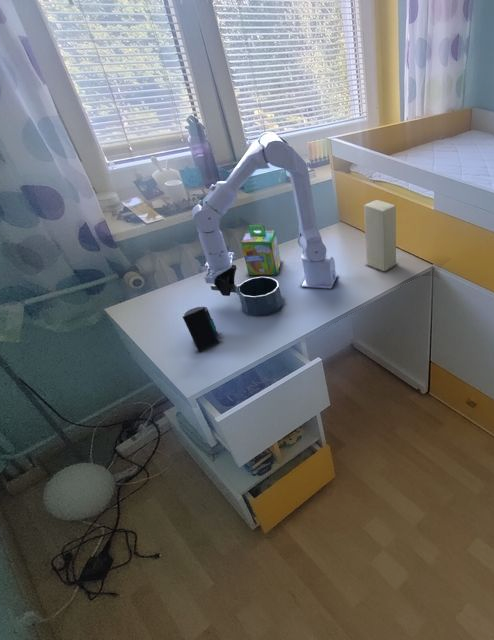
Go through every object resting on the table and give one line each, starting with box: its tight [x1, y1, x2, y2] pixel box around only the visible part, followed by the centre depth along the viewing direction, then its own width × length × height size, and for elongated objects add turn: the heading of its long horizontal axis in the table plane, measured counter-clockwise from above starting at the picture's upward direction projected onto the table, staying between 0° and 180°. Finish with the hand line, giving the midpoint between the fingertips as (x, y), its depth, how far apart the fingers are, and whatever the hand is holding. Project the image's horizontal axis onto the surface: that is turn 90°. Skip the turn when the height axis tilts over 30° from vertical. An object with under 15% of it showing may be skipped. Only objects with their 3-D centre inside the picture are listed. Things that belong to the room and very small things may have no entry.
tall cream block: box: [363, 199, 397, 272], centre depth 141 cm, size 8×7×21 cm
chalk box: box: [240, 224, 282, 276], centre depth 137 cm, size 9×9×15 cm
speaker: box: [182, 306, 220, 353], centre depth 109 cm, size 8×6×10 cm
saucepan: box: [210, 276, 284, 317], centre depth 124 cm, size 20×11×6 cm, turn 81°
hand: (228, 292), depth 125 cm, fingers closed on saucepan, 2 cm apart
